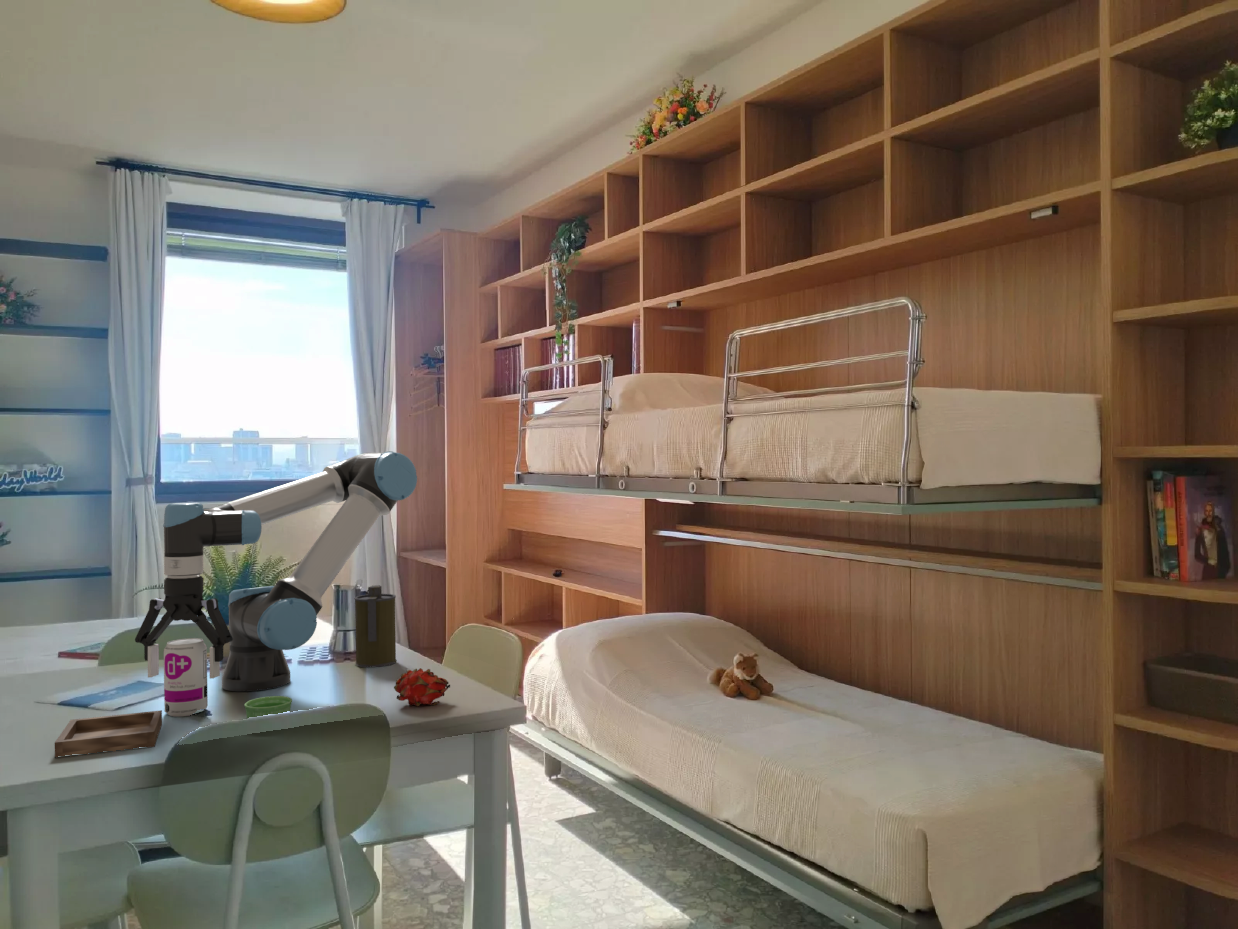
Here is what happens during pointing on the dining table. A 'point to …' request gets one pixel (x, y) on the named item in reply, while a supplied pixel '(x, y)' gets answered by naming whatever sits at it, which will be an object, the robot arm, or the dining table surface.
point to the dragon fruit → (420, 687)
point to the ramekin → (267, 706)
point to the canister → (375, 628)
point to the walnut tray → (109, 733)
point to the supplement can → (185, 676)
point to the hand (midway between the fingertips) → (183, 676)
